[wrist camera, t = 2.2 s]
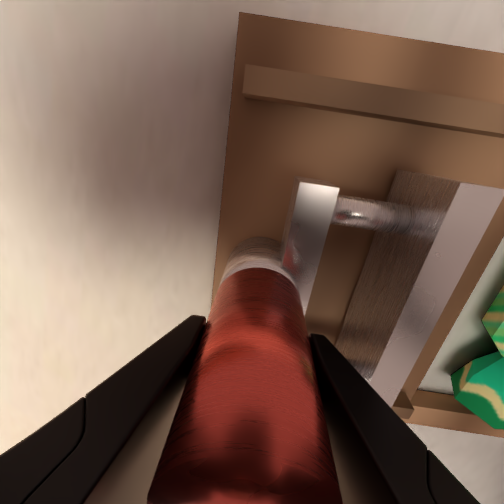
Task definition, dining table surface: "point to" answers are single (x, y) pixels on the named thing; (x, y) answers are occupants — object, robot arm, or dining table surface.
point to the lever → (297, 341)
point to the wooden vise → (359, 157)
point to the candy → (485, 373)
